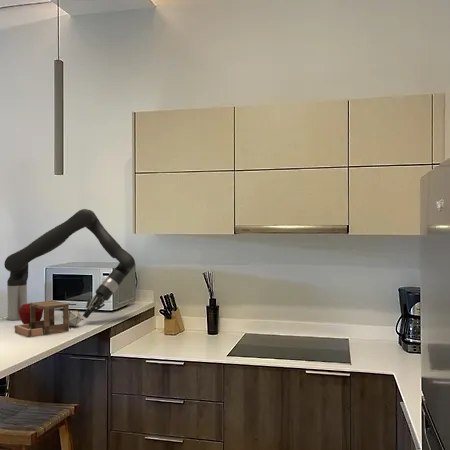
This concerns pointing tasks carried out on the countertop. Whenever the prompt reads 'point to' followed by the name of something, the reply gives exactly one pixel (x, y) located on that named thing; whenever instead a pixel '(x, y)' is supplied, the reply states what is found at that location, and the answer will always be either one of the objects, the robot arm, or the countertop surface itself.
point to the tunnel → (49, 317)
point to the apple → (25, 313)
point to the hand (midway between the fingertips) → (84, 316)
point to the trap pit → (28, 331)
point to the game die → (74, 318)
